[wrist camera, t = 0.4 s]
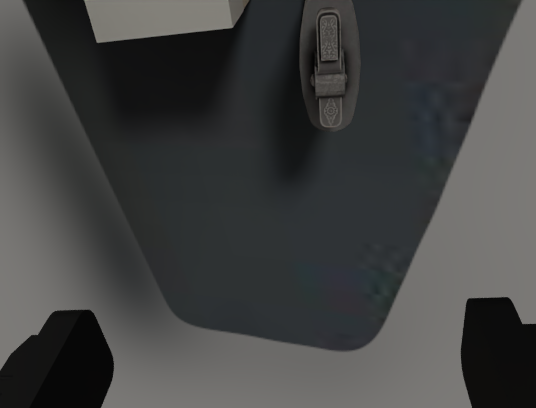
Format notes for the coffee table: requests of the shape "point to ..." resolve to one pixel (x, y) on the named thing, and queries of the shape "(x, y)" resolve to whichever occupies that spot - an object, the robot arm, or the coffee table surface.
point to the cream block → (159, 17)
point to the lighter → (329, 62)
